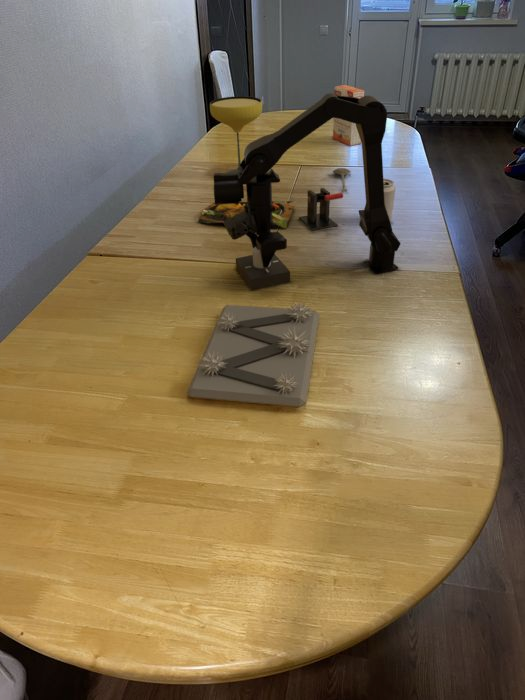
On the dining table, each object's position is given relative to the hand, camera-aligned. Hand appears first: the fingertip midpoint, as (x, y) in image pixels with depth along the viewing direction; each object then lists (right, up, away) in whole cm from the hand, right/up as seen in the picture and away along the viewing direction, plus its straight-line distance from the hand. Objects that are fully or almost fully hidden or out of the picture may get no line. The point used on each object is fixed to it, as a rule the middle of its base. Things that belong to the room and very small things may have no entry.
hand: (262, 262), depth 128 cm
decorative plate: (0, -23, -24) cm, 33 cm away
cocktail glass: (-8, +43, +65) cm, 78 cm away
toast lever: (+18, +20, +17) cm, 32 cm away
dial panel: (0, -3, +2) cm, 4 cm away
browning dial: (0, 0, 0) cm, 0 cm away
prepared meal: (-4, +20, +33) cm, 38 cm away
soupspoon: (+28, +37, +54) cm, 72 cm away
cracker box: (+36, +68, +95) cm, 122 cm away
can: (+35, +16, +26) cm, 46 cm away
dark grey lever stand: (+17, +16, +26) cm, 35 cm away
